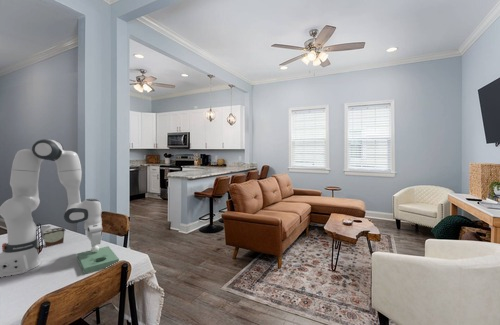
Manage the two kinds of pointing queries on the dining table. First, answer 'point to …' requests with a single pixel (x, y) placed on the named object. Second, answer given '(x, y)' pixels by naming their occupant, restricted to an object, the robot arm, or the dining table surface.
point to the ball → (94, 248)
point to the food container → (53, 236)
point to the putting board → (96, 259)
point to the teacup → (45, 229)
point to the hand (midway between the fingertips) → (93, 247)
